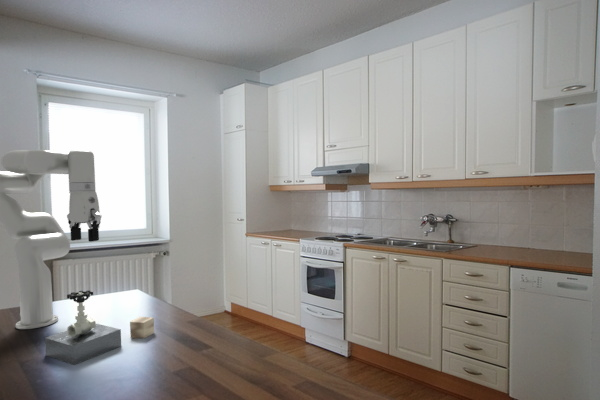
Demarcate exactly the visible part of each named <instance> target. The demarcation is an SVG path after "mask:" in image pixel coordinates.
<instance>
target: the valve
mask: <svg viewBox="0 0 600 400" xmlns="http://www.w3.org/2000/svg"><path fill="white" fill-rule="evenodd" d="M91 296H94V291H92V290H89V289H88V290H85V291H83V290H78V291H77V292H74V291H71V293H69V294H66V299H69V300H71V301H72V300H73V302H75V303H77V304H78V305H77V306H76V307H77V314H75V320H76V322H74V323H72V324H70V325H68V326H67V330H66V331H67V332H68V335H69V336H70V337H72V338H73V337H76V336H78V335H83V334H86V333H87V332H88V331H90V330H92V329H94V328H95V326H96V324H97V323H96V320H95V319H94V318H93V317H91V316H90V317H88V313H86V312H85V311H84V310H85V307H86V306H85V305H84V304H83V303H84V302H85V301H87V300H88V299H90V297H91Z"/></svg>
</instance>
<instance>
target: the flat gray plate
mask: <svg viewBox="0 0 600 400" xmlns="http://www.w3.org/2000/svg"><path fill="white" fill-rule="evenodd" d="M121 331H122V330H121V329H120V328H116V327H112V326H108V325H104V324H100V323H96V326H95V328H94V329H92V330H90V331H88V332H87V333H86V334H83V335H78V336H76V337H73V338H72V337H70V336H69V335H68V332H67V330H66V331H62V332H60V333H56V334H52V335H49V336H47V337H46V336H45V337H44V343H45V344H44V345H45V356H46V357H50V358H53V359H55V360H59V361H61V362H64V363H67V364H70V365H74V366H75V365H77V364H81V363H83V362H85V361H87V360H90V359H93V358H96V357H97V356H98V357H99V356H100V355H102V354H105V353H108V352H110V351H113V350H116V349H117V348H120V347H122V333H121Z"/></svg>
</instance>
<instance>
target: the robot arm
mask: <svg viewBox="0 0 600 400" xmlns="http://www.w3.org/2000/svg"><path fill="white" fill-rule="evenodd" d="M0 163H1V166H2V167H3V169H4V171H3V170H2V171H1V170H0V226H2V229H3V230H4V231H5V233H6V234H7V236H8V237H9V238H10V239H12V240H16V241H15V243H14V244H13V245H14V246H13V254H14V257H15V261H16V265H17V272H18V273H17V274H18V290H19V291H18V292H19V309H20V310H19V311H20V313H19V316H20V320H19V321H17V322H16V323H15V328H16V329H18V330H33V329H37V328H43V327H48V326H49V325H50V326H51V325H52V324H55V323H57V322H58V321H59V316H58V315H56V314H54V312H53V311H54V310H53V308H54V307H53V306H54V305H53V290H52V289H53V288H52V286H53V285H52V273H51V270H50V267H48V266H47V265H46V263H45V261H48V260H54V259H58V258H63V257H65V256H67V254H69V252H70V251H71V243H70V241H79V240H80V241H81V240H82V227H81V225H82V224H87V226H88V229H87V232H88V233H87V236H88V237H87V238H88V242H91V243H92V242H97V241H99V240H100V234H99V233H100V232H99V229H100V226H101V225H100V224H101V219H102V214H101V213H100V204H99V199H98V198H99V197H98V195H97V192H96V190H97V189H96V172H95V155H94V153H93V152H92V151H91V150H87V149H86V150H83V149H75V150H70V151H65V150H63V151H62V150H48V149H44V150H43V149H31V150H30V149H20V150H19V149H16V150H10V151H8V152H6V153H4V154H3V155H2V157H1V159H0ZM5 170H6V171H5ZM46 174H50V175H54V174H55V175H68V191H69V201H68V202H69V205H68V206H69V207H68V210H69V212H68V214H67V215H66V218H67V221H68V222H67V223H68V225H69V230H70V240H69V237H68V236H67V234H66V233H65V232H64V230H63V228H62V227H61V225H60V224H59V222H58V221H57V220H56V219H55V217H54V216H53V215H52V214H50V213H48V212H42V211H41V212H29V211H26V210H25V208H24V207H23V206H22V204H21V203H20V202H19V201H18V200H16V199H15V198H14V197H11V196H9V195H21V194H22V195H23V194H29V193H32V192H33V191H34V190H35V189H36V188H37V187H38V185H39V184H40V183H41V181H42V180H43V178H44V176H46Z"/></svg>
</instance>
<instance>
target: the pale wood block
mask: <svg viewBox="0 0 600 400" xmlns="http://www.w3.org/2000/svg"><path fill="white" fill-rule="evenodd" d="M154 319H155V318H154V317H151V316H148V317H147V316H139V317H137V318H135V319H133V320H130V322H129V327H130V329H129V330H130V331H129V332H130V338H134V339H135V338H136V339H146V338H148V337H149V336H151V335H153V334H154V333H155V320H154Z"/></svg>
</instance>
